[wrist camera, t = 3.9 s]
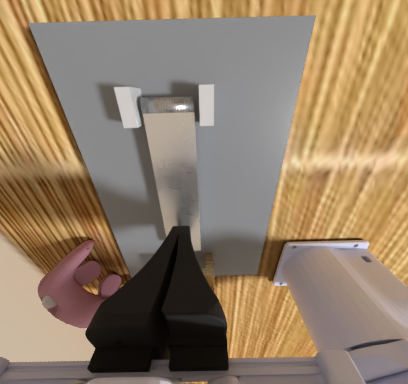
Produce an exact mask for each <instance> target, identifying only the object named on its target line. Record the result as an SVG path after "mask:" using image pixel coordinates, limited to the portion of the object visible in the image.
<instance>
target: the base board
mask: <svg viewBox="0 0 408 384" xmlns="http://www.w3.org/2000/svg"><path fill="white" fill-rule="evenodd" d="M315 17H316V15H314V16H277V17H239V18H202V19H164V20H127V21H90V22H52V23H28V24H29V26H30V29H31V31H32V34H33V36H34V39H35V41H36V43H37V46H38V48H39V51H40V53H41V56H42V58H43V61H44V63H45V66H46V68H47V71H48V73H49V76H50V78H51V81H52V83H53V85H54V88H55V90H56V93H57V95H58V98H59V100H60V103H61V105H62V108H63V110H64V113H65V115H66V118H67V120H68V123H69V125H70V127H71V130H72V132H73V135H74V137H75V140H76V142H77V145H78V147H79V150H80V152H81V155H82V157H83V160H84V162H85V165H86V167H87V169H88V172H89V174H90V177H91V179H92V182H93V184H94V187H95V189H96V192H97V194H98V197H99V199H100V202H101V204H102V207H103V209H104V211H105V214H106V216H107V219H108V221H109V224H110V226H111V229H112V231H113V234H114V236H115V239H116V241H117V244H118V246H119V249H120V251H121V253H122V256H123V258H124V261H125V263H126V266H127V268H128V271H129V273H130V276H131V278H133V277H134V276H135V275H136V274H137V273H138V272H139V271H140V270H141V269H142V268H143V267H144V265H145V264H146V263H147V262H148V261H149V260H150V259H151V257H152V256H153V255H154V254H155V252H156V251H157V250H158V249H159V247H160V246H161V244H162V243H163V241H164V240H165V238H166V233H165V228H164V223H163V217H162V212H161V207H160V202H159V197H158V191H157V186H156V181H155V176H154V171H153V165H152V160H151V155H150V150H149V145H148V139H147V134H146V129H145V124H144V119H143V114H142V111H141V105H140V100H141V98H151V97H188V96H194V102H195V124H196V146H197V168H198V190H199V212H200V234H201V251H194V252H195V255H196V258H197V261H198V263H199V265H200V268H201V269H204V268H206V260H205V254H213V263H214V276H227V275H257V273H258V268H259V264H260V260H261V255H262V251H263V246H264V242H265V237H266V233H267V229H268V224H269V220H270V215H271V211H272V207H273V202H274V198H275V193H276V189H277V184H278V180H279V176H280V171H281V167H282V162H283V158H284V154H285V149H286V145H287V140H288V136H289V131H290V127H291V123H292V118H293V114H294V109H295V105H296V100H297V96H298V92H299V87H300V83H301V78H302V74H303V70H304V65H305V61H306V56H307V52H308V47H309V43H310V39H311V34H312V30H313V25H314V21H315Z"/></svg>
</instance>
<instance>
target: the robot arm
mask: <svg viewBox="0 0 408 384" xmlns="http://www.w3.org/2000/svg"><path fill="white" fill-rule="evenodd" d="M368 246H369V242H367V241H366V240H346V241H308V242H287V243H285V245H284V247H283V250H282V254H281V257H280V260H279V263H278V266H277V269H276V273H275V276H274V279H273V284H274V285H275V286H284V285H287V286H288V288H289V290H290V292H291V294H292V297H293V299H294V301H295V303H296V305H297V307H298V310H299V312H300V314H301V316H302V318H303V321H304V323H305V325H306V327H307V329H308V331H309V334H310V336H311V338H312V340H313V342H314V344H315V347H316V349H317V351H318V353H317V354H316V356H315V357H280V358H228V352H227V338H226V333H227V322H226V318H225V315H224V312H223V309H222V307H221V305H220V302H219V300H218V298H217V296H216V295H215V293H214V292H213V290H212V288H211V287H210V285H209V283H208V282H207V280H206V278H205V276H204V274H203V272H202V270H201V268H200V265H199V263H198V261H197V258H196V255H195V252H194V249H193V246H192V242H191V231H190V226H173V227H172V228H171V230H170V232H169V234H168V235H167V237H166V238H165V240H164V241H163V243H162V244H161V246H160V247H159V249H158V250H157V251H156V252H155V254H154V255H153V256H152V257H151V259H150V260H149V261H148V262H147V263H146V264H145V265H144V267H143V268H142V269H141V270H140V271H139V272H138V273H137V274H136V275H135V276H134V277H133V278H131V279H130V280H129V281H128V282H127V283H126V284H125V285H124V286H122V287H121V288H120V289H119V290H118V291H116V292H115V293H114V294H112V295H111V296H110V297H109V298H107V299H106V300H105V301H103V302H102V303H101V304H100V306H99V307H98V309H97V311H96V312H95V314H94V316H93V318H92V320H91V322H90V324H89V326H88V328H87V330H86V333H85V335H86V337H87V339H88V340H89V341H90V342H91V344H92V345H93V346H94V347H95V348H96V349H95V351H94V354H93V356H92V358H91V360H90V361H61V362H9V360H7V359H5V358H3V357H0V384H193V383H181V382H200V381H208V384H408V287H407V286H406V285H405V284H404V283H403V282H402V281H401V280H400V279H399V278H398V277H397V276H395V275H394V274H393V273H392V272H391V271H390V270H389V269H388V268H387V267H386V266H384V265H383V264H382V263H381V262H380V261H379V260H378V259H377V258H376V257H375V256H374V255H372V254H371V253H370V252H369V251H368V250H367V247H368Z"/></svg>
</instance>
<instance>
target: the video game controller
mask: <svg viewBox="0 0 408 384" xmlns="http://www.w3.org/2000/svg"><path fill="white" fill-rule="evenodd" d="M93 246H94V241H93V240H87V241H85V242H83V243H81V244H80V245H78V246H77V247H76V248H75V249H73V250H72V251H71V252H70V253H69V254H68V255H66V256H65V257H64V258H63V259H62V260H61V261H60V262H59V263H58V264H57V265H56V266H55V267H54V268H53V269H52V270H51V271H50V272H49V273H48V274H47V275H45V277H44V278H43V279H42V280H41V281H40V284H39V286H38V294H39V297H40V299H41V301H42V304H43V305H44V307H45V308H46V309H47V310H48V311H49V312H50V313H51V314H52V315H53V316H54V317H56V318H57V319H59V320H61V321H63V322H65V323H67V324H70V325H73V326H75V327H79V328H88V326H89V324H90V322H91V320H92V318H93V316H94V314H95V312H96V311H97V309H98V307H99V306H100V304H101V303H102V302H103V301H105V300H106V299H107V298H109V297H110V296H111V295H112V294H114V293H115V292H116V291H118V290H119V289H120V286H121V278H120V276H118V275H115V274H108V275H106V276H104V277H103V278H102V279H101V281H100V283H99V288H98V294H97V295H95V294H92V293H90V292H88V291H87V290H85V289H84V288H83V287H81V286H83V285H85V284H88V283H90V282H92V281H94V280H95V279H96V278H97V277H98V276H99V275H100V273H101V266H100V264H99V263H98V262H96V261H91V260H90V261H86V262H83V263H82V261H83V260H84V259H85V258H86V257H87V256H88V255H89V253H90V251H91V250H92V248H93ZM81 263H82V264H81Z"/></svg>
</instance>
